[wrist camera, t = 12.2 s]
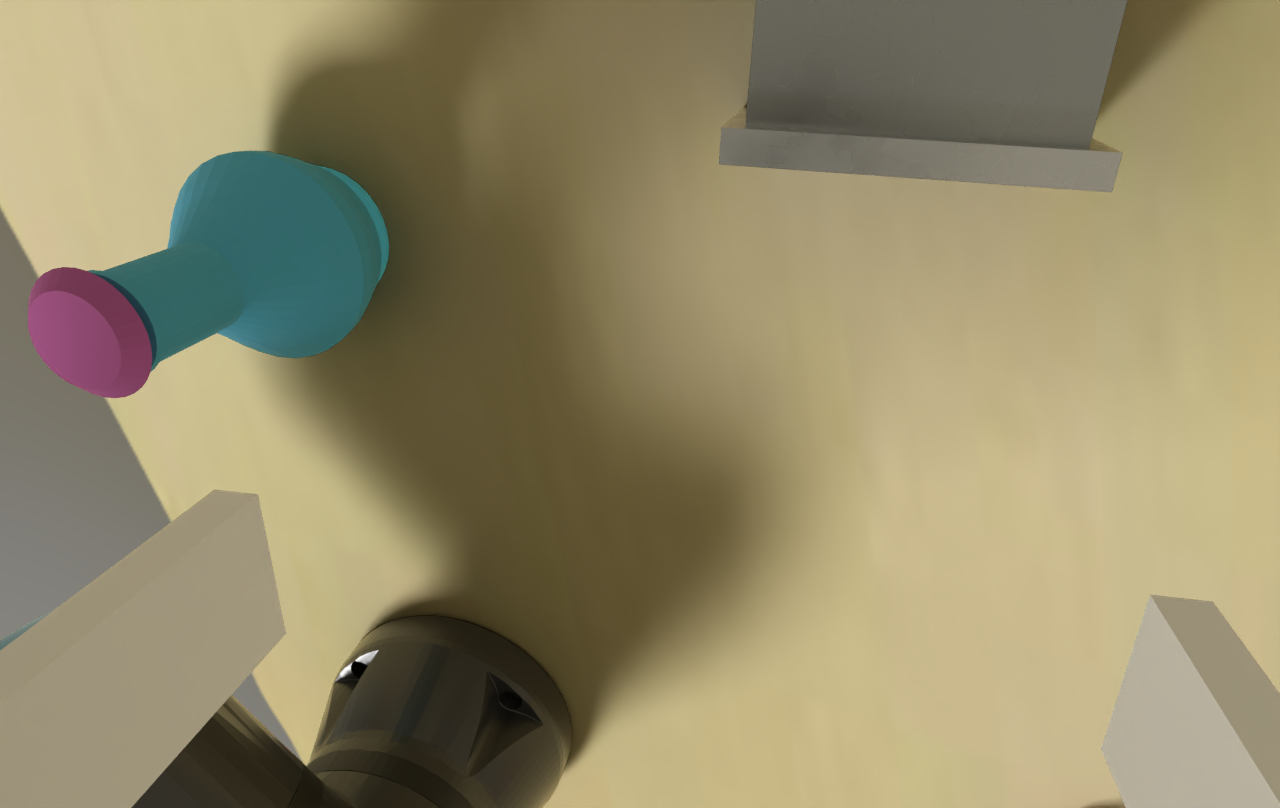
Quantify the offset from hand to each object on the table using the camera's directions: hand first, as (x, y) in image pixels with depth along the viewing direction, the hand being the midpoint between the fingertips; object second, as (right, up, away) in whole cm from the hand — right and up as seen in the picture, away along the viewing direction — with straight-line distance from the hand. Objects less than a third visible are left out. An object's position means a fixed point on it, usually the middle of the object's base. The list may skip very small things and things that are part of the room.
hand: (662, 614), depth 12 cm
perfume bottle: (-16, +12, +28) cm, 34 cm away
